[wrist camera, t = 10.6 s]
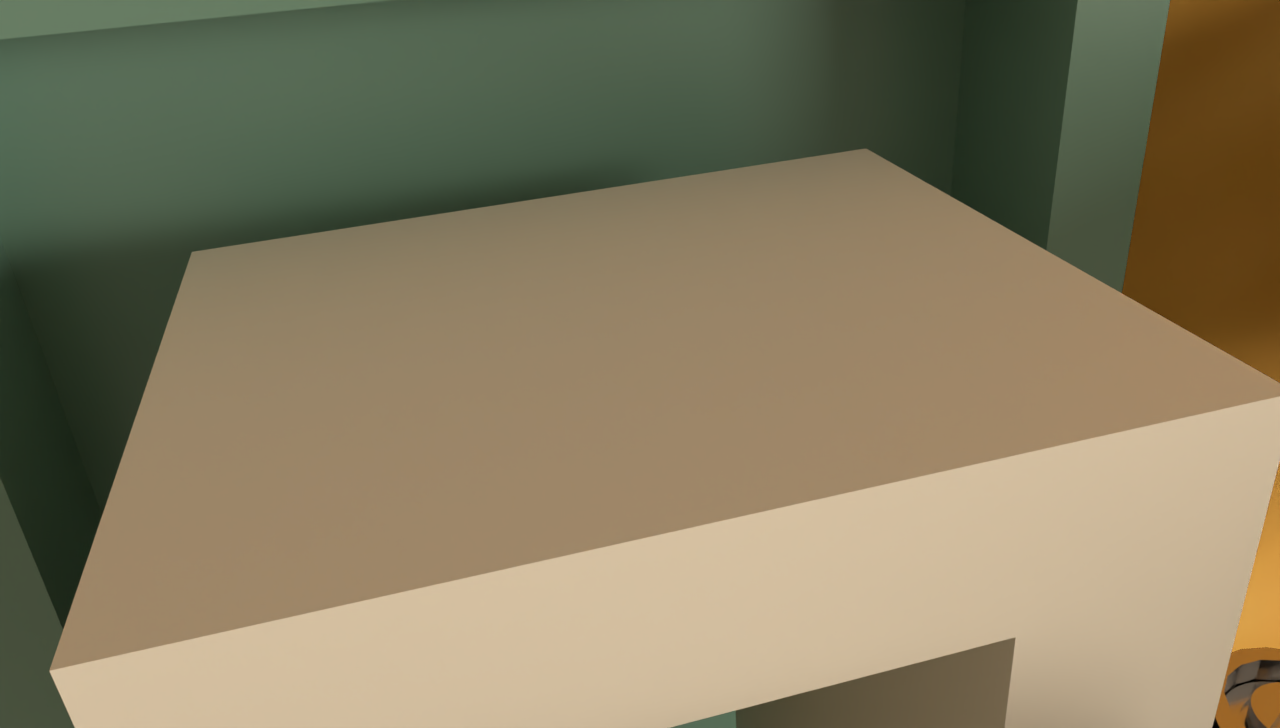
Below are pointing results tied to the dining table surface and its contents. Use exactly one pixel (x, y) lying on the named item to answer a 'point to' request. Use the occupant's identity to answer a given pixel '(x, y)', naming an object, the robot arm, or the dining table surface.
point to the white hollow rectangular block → (674, 476)
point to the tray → (467, 169)
